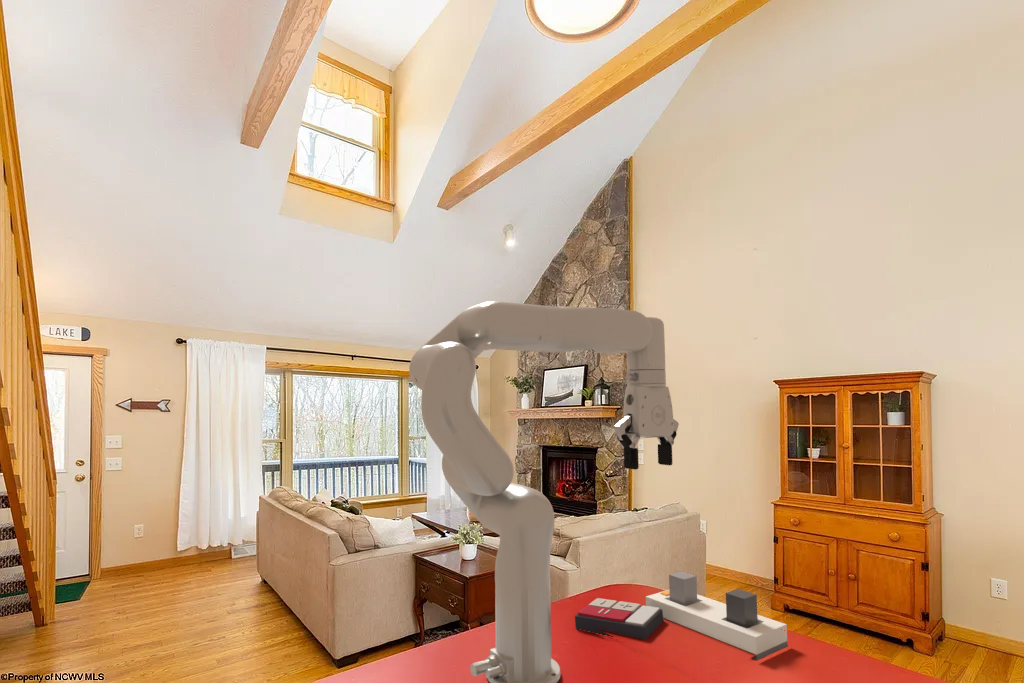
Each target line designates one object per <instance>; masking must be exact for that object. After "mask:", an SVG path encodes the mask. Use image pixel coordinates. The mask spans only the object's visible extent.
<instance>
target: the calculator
mask: <svg viewBox="0 0 1024 683" xmlns="http://www.w3.org/2000/svg"><path fill="white" fill-rule="evenodd" d="M574 622H575V623H574V626H575V627H574V628H575V630H578V629H581V630H580V631H582V630H585V631H584V632H586V631H590V632H589V633H591V632H594V633H593V634H595V633H598V634H597V635H599V634H602V635H601V636H604V635H607V636H606V637H609V636H611V637H610V638H614V636H613V635H611V634H608V633H607V632H609V633H613V634H618V635H623V636H627V637H631V638H636V639H639V640H647V639H648V638H649V637H650V636H651V635H652V634H653V633H654V632H656V630H657V628H659V626H660V625H662V623H664V618H663V611H662V609H660V608H658V607H651V606H646V605H641V603H636V602H635V603H634V602H628V601H622V600H620V601H618V600H616V599H615V600H614V599H606V598H600V597H597V598H595V599H594V600H592V601H591V602H590V603H588V605H586V606H584V607H583V608H581V609H580V610H579V611H578V612H577V613H576V614H575V615H574ZM605 631H606V632H605Z"/></svg>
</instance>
